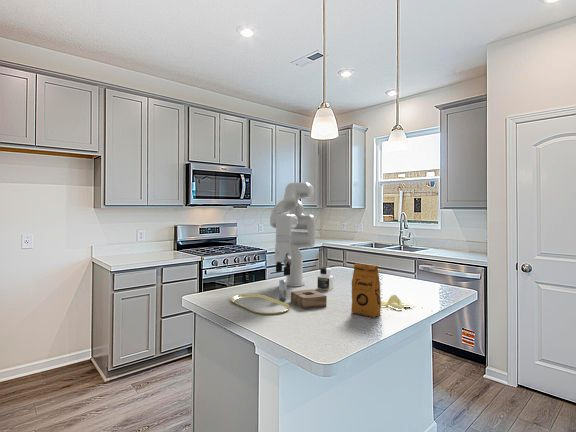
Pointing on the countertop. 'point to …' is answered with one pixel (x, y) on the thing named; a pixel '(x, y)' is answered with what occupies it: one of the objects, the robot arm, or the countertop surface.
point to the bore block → (308, 299)
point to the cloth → (394, 302)
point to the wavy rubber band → (264, 298)
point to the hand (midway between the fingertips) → (282, 273)
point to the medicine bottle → (325, 279)
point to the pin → (282, 290)
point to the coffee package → (366, 290)
